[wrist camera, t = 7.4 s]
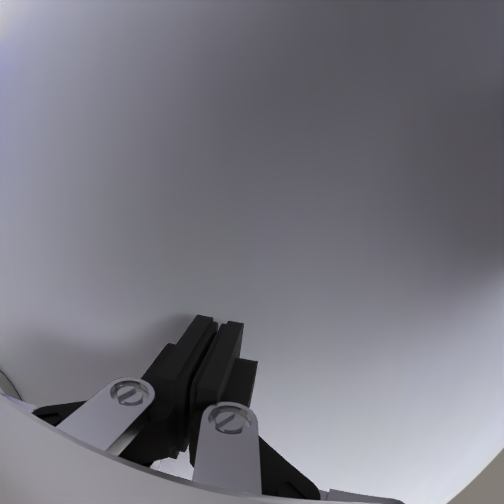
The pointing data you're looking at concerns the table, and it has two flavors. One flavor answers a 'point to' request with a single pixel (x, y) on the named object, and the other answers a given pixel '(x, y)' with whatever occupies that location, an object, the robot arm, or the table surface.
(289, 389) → the table surface
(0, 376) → the travel mug
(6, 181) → the table surface
